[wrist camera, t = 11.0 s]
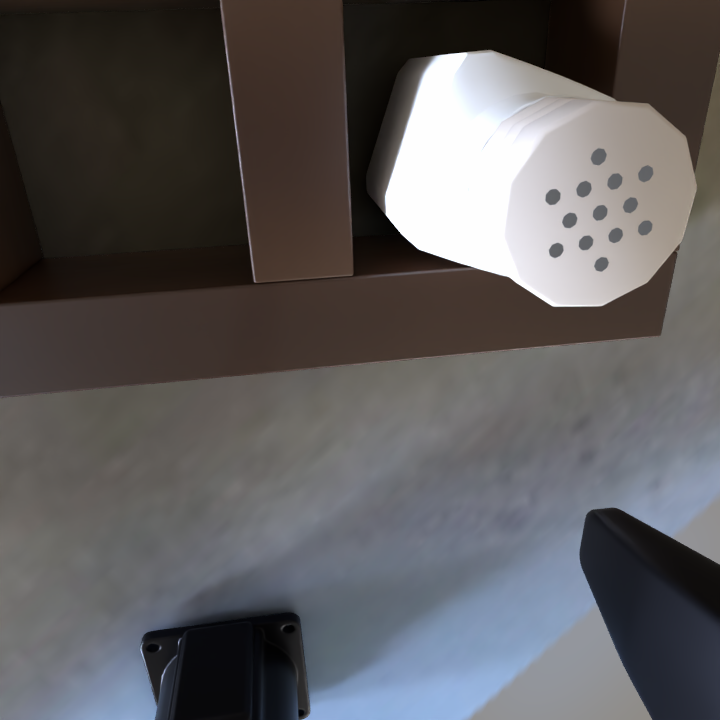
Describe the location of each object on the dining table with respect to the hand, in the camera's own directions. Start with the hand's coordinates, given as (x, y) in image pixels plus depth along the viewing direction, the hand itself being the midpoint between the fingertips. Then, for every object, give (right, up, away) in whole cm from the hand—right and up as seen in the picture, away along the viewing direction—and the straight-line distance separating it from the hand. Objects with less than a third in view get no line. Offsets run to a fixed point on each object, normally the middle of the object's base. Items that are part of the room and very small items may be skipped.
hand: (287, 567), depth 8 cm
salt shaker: (+3, +9, +9) cm, 14 cm away
